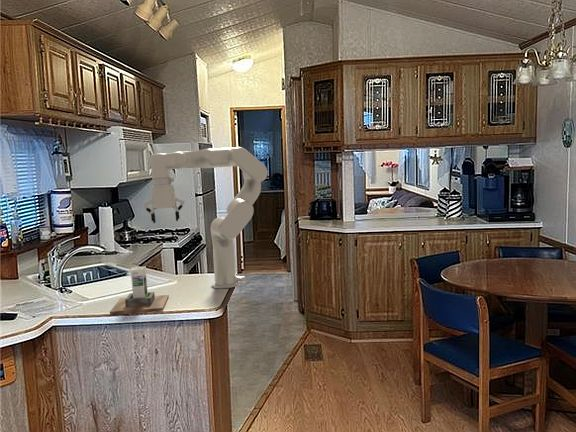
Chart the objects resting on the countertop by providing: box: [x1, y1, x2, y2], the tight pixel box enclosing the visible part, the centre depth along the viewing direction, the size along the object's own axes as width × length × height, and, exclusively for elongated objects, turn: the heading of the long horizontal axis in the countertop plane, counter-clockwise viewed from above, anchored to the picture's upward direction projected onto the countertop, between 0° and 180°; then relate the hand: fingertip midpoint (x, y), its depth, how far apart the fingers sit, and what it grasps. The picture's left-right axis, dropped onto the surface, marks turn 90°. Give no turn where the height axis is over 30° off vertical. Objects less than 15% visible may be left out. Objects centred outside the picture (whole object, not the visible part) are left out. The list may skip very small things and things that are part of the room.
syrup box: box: [130, 265, 149, 298], centre depth 211 cm, size 6×6×14 cm
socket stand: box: [109, 291, 170, 316], centre depth 212 cm, size 20×20×4 cm
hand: (165, 221), depth 227 cm, fingers open, 9 cm apart
